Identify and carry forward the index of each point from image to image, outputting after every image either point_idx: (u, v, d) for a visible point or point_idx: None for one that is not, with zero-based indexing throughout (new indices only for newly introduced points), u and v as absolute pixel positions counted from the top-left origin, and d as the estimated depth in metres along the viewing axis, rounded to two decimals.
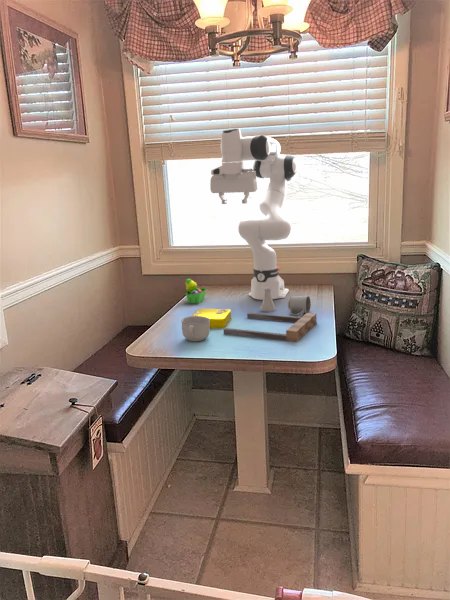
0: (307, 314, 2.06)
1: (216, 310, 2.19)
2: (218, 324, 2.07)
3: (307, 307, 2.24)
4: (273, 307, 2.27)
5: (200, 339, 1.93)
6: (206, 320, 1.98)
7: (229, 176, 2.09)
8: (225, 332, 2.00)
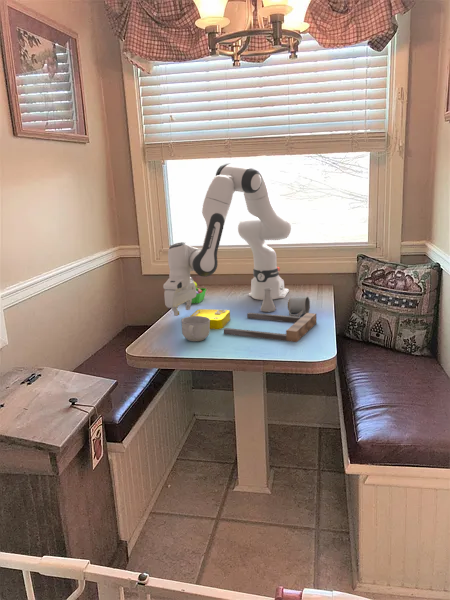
0: (307, 314, 2.06)
1: (215, 311, 2.18)
2: (215, 325, 2.06)
3: (306, 307, 2.23)
4: (273, 307, 2.27)
5: (200, 339, 1.93)
6: (206, 320, 1.98)
7: (186, 287, 2.17)
8: (225, 332, 2.00)
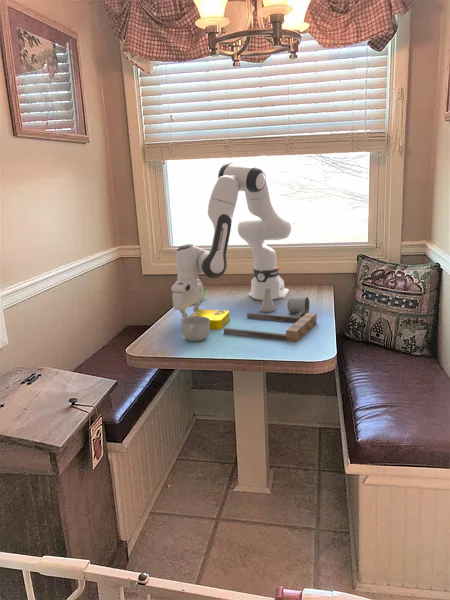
0: (307, 314, 2.06)
1: (214, 311, 2.18)
2: (214, 325, 2.06)
3: (306, 308, 2.23)
4: (273, 307, 2.27)
5: (200, 339, 1.93)
6: (206, 320, 1.98)
7: (194, 289, 2.16)
8: (225, 332, 2.00)
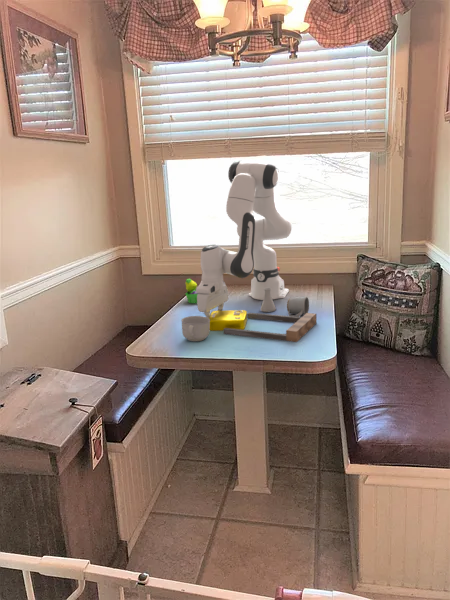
0: (307, 314, 2.06)
1: (231, 311, 2.15)
2: (238, 325, 2.03)
3: (306, 308, 2.22)
4: (273, 307, 2.27)
5: (200, 339, 1.93)
6: (206, 320, 1.98)
7: (219, 291, 2.11)
8: (225, 332, 2.00)
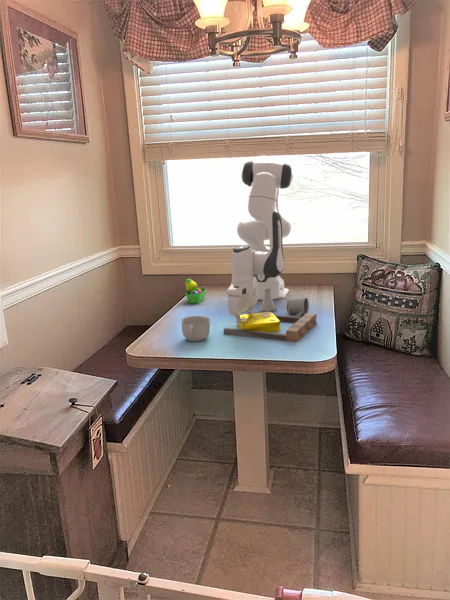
0: (307, 314, 2.06)
1: (258, 314, 2.10)
2: (275, 327, 1.99)
3: (305, 308, 2.22)
4: (273, 307, 2.27)
5: (200, 339, 1.93)
6: (206, 320, 1.98)
7: (249, 293, 2.04)
8: (225, 332, 2.00)
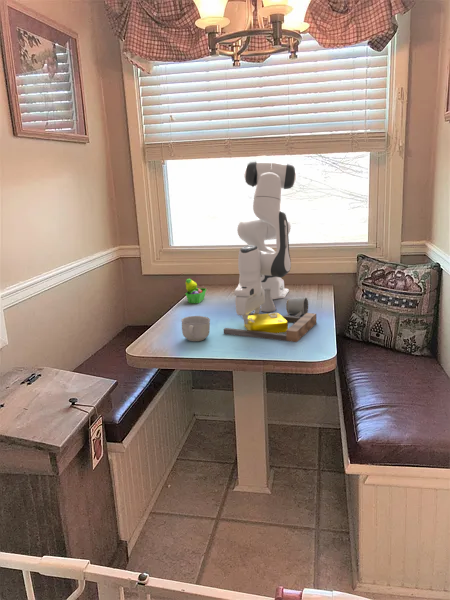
0: (307, 314, 2.06)
1: (265, 315, 2.08)
2: (283, 328, 1.98)
3: (305, 308, 2.21)
4: (273, 307, 2.27)
5: (200, 339, 1.93)
6: (206, 320, 1.98)
7: (257, 293, 2.03)
8: (225, 332, 2.00)
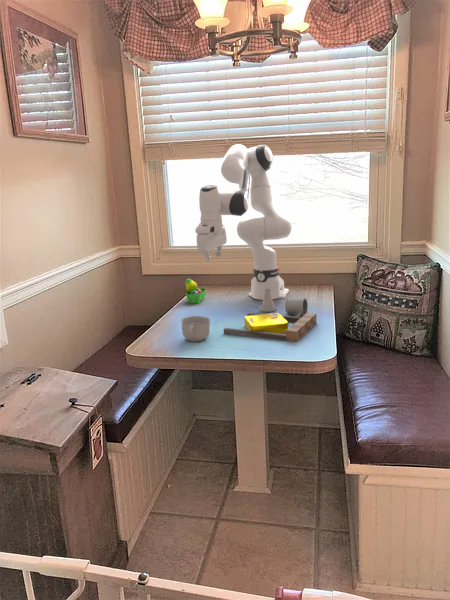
0: (307, 314, 2.06)
1: (266, 315, 2.08)
2: (283, 328, 1.97)
3: (304, 309, 2.21)
4: (273, 307, 2.27)
5: (200, 339, 1.93)
6: (206, 320, 1.98)
7: (218, 232, 2.11)
8: (225, 332, 2.00)
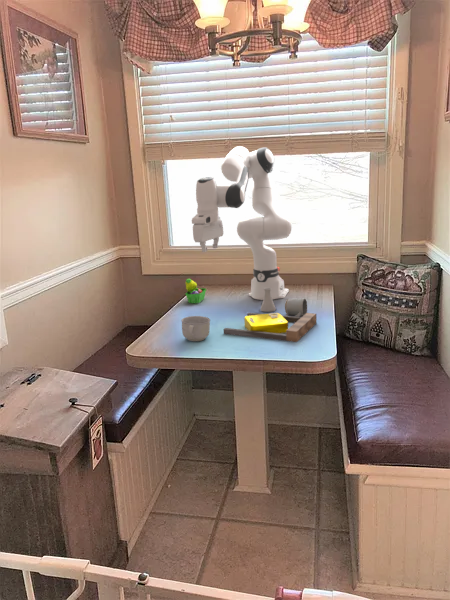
0: (307, 314, 2.06)
1: (266, 315, 2.08)
2: (283, 328, 1.97)
3: (304, 309, 2.20)
4: (273, 307, 2.27)
5: (200, 339, 1.93)
6: (206, 320, 1.98)
7: (214, 223, 2.15)
8: (225, 332, 2.00)
